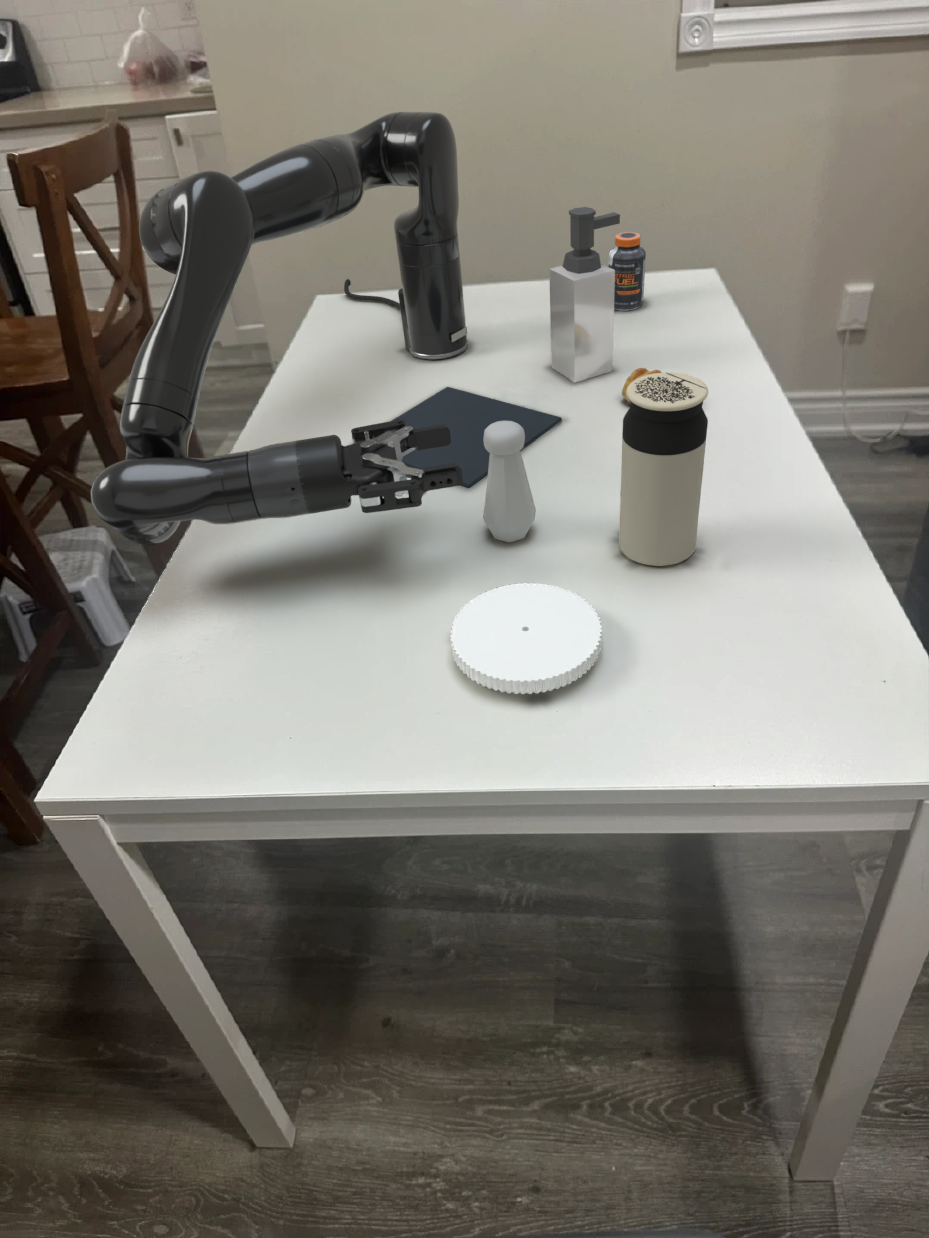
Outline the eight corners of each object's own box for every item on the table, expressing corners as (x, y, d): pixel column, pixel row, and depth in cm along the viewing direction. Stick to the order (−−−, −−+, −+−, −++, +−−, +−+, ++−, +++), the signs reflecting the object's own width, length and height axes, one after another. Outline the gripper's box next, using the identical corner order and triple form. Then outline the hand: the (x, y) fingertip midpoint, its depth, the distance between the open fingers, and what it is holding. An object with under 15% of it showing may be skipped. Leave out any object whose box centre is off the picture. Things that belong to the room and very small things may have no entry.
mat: (352, 447, 115) (351, 444, 115) (447, 389, 127) (447, 386, 126) (468, 488, 105) (468, 484, 105) (561, 420, 116) (561, 417, 116)
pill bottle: (606, 312, 144) (608, 241, 137) (608, 299, 149) (609, 230, 142) (643, 311, 143) (646, 239, 136) (643, 298, 148) (646, 228, 141)
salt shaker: (542, 521, 98) (538, 415, 90) (528, 549, 94) (523, 442, 86) (493, 515, 100) (485, 411, 91) (477, 543, 96) (467, 437, 87)
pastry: (702, 402, 117) (705, 375, 114) (673, 422, 113) (675, 395, 111) (645, 385, 122) (646, 359, 120) (615, 403, 119) (616, 377, 116)
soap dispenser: (625, 367, 127) (631, 207, 113) (574, 382, 125) (573, 221, 111) (601, 352, 132) (603, 197, 118) (551, 367, 129) (547, 211, 115)
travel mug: (649, 577, 88) (658, 416, 77) (604, 541, 94) (607, 385, 82) (711, 552, 91) (729, 391, 79) (663, 517, 96) (674, 363, 85)
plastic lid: (448, 704, 77) (445, 683, 75) (456, 605, 87) (454, 585, 86) (607, 700, 75) (607, 679, 74) (596, 600, 86) (596, 580, 85)
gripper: (292, 481, 81) (463, 453, 82) (291, 414, 92) (442, 390, 93) (308, 546, 85) (470, 520, 87) (306, 475, 96) (449, 452, 97)
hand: (455, 453), depth 90 cm, fingers open, 8 cm apart
